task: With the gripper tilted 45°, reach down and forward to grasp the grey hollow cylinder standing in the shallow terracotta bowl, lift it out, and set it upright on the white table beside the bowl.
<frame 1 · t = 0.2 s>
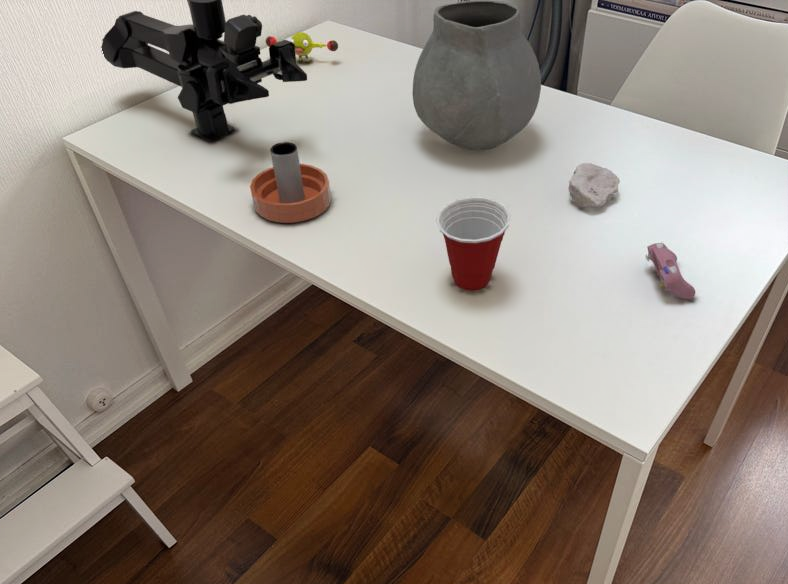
hand: (287, 85, 116), 17 cm above the table, tool horizontal, fingers open, 9 cm apart
plastic cup: (470, 281, 106), on the table
bowl: (293, 202, 121), on the table
toy figure: (303, 62, 164), on the table
ceramic pot: (473, 140, 137), on the table
pale grey lumpy chunk: (589, 197, 122), on the table
video game controller: (665, 283, 105), on the table
grey hollow cylinder: (292, 201, 120), resting on bowl
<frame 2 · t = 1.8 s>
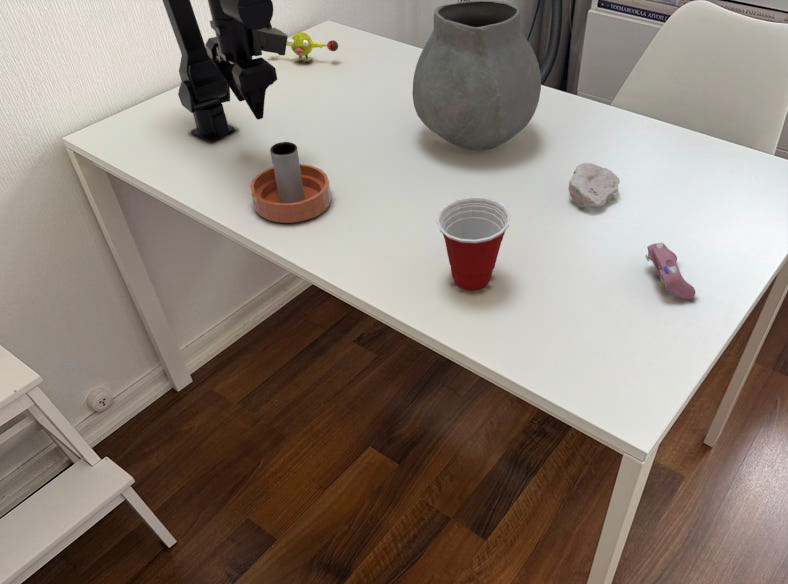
hand: (250, 109, 119), 13 cm above the table, tool pointing down, fingers open, 9 cm apart
nothing on the table moved.
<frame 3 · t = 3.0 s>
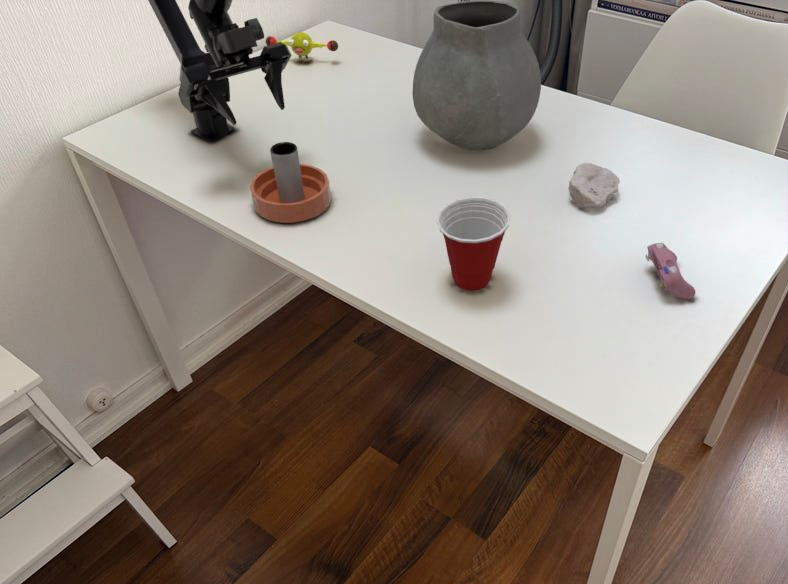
hand: (259, 116, 115), 13 cm above the table, tool tilted 45°, fingers open, 9 cm apart
nothing on the table moved.
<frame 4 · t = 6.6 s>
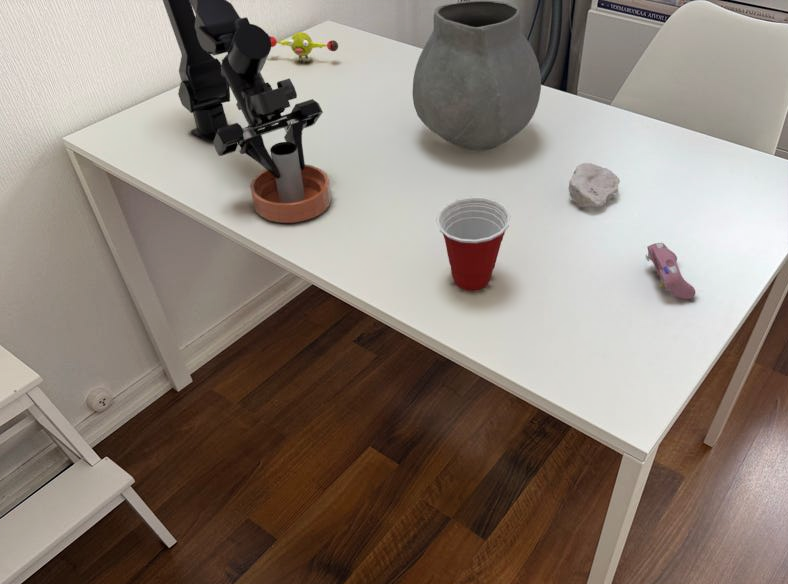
hand: (291, 173, 115), 7 cm above the table, tool tilted 45°, fingers closed on grey hollow cylinder, 4 cm apart
grey hollow cylinder: (292, 201, 120), resting on bowl, touching gripper
everything else where it was.
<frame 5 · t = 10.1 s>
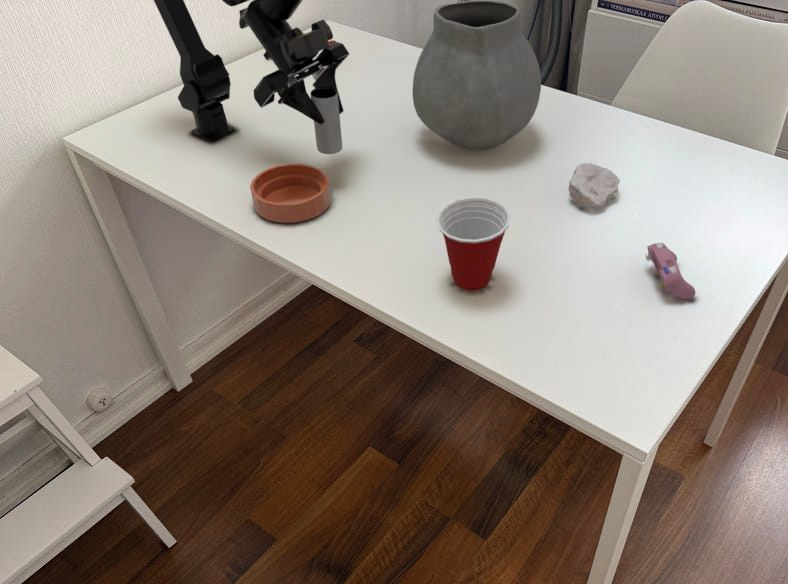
hand: (332, 117, 115), 13 cm above the table, tool tilted 45°, fingers closed on grey hollow cylinder, 4 cm apart
grey hollow cylinder: (330, 149, 120), point 7 cm above the table, touching gripper
everything else where it was.
when the fingers open (6 cm above the table, at t = 13.8 s): grey hollow cylinder stays where it is, on the table.
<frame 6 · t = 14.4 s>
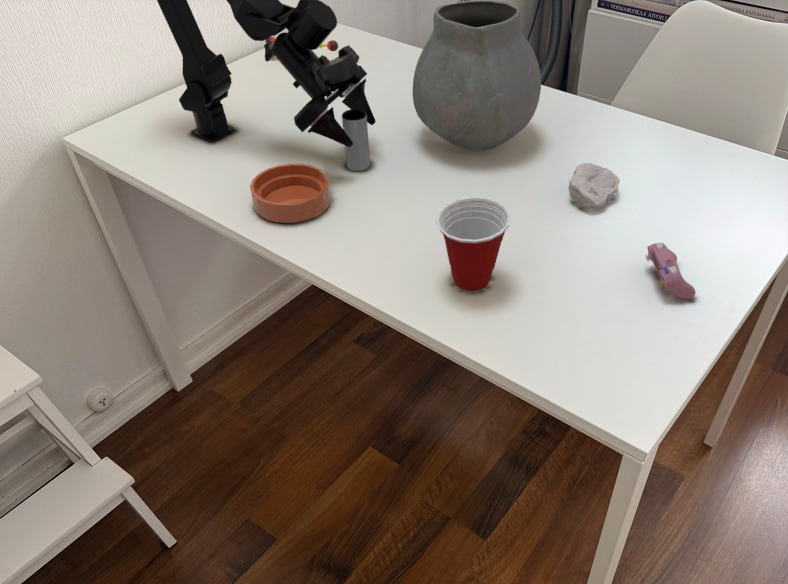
hand: (363, 134, 124), 7 cm above the table, tool tilted 45°, fingers open, 9 cm apart
grey hollow cylinder: (358, 166, 130), on the table
everything else where it was.
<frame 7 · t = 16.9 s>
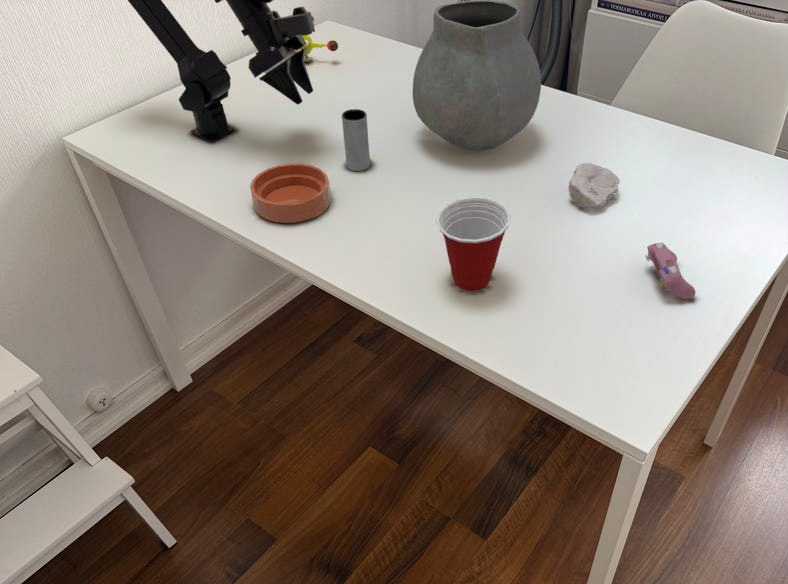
hand: (305, 97, 123), 12 cm above the table, tool tilted 35°, fingers open, 9 cm apart
nothing on the table moved.
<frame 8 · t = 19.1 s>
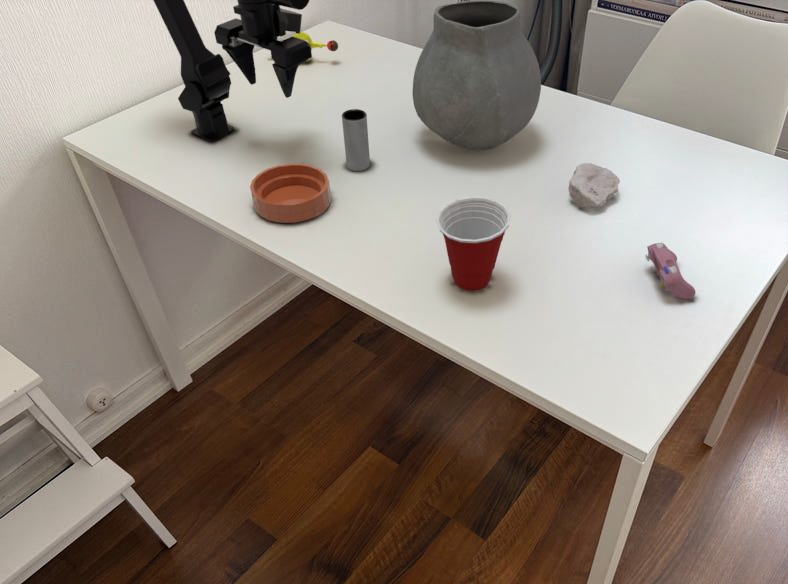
hand: (270, 90, 123), 13 cm above the table, tool pointing down, fingers open, 9 cm apart
nothing on the table moved.
at the end: grey hollow cylinder inside the target area (0.1 cm from its centre), on the table; grey hollow cylinder tilted 0°; grey hollow cylinder touching table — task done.
